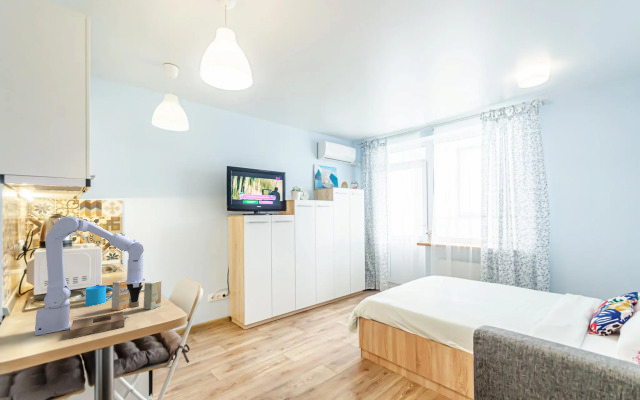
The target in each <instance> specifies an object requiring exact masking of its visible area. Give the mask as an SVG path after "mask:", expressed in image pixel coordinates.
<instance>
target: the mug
mask: <svg viewBox="0 0 640 400" xmlns="http://www.w3.org/2000/svg"><path fill="white" fill-rule="evenodd" d="M107 289H109V290H111V291H112V286H107V285H106V284H105V285H103V284H102V285H93V286H88V287H86V288H85V295H84V296H85V299H84V305H86V307H92V305H94V306H98V304H99V305H103V304H106V302H107V301H108V300H110V299H112V293H111V294H110V296H109V297H107ZM102 303H103V304H102Z"/></svg>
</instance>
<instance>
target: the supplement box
mask: <svg viewBox="0 0 640 400" xmlns="http://www.w3.org/2000/svg"><path fill="white" fill-rule="evenodd" d="M126 281H127V278H126V279H122V280H118V281H117V280H115V281H112V286H111V288H112V290H111V294H112V297H111V311H118V312H120V311H122V310H125V309H127V308H129V294H130V293H129V290H128V288H127V284H130V283H126Z"/></svg>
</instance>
